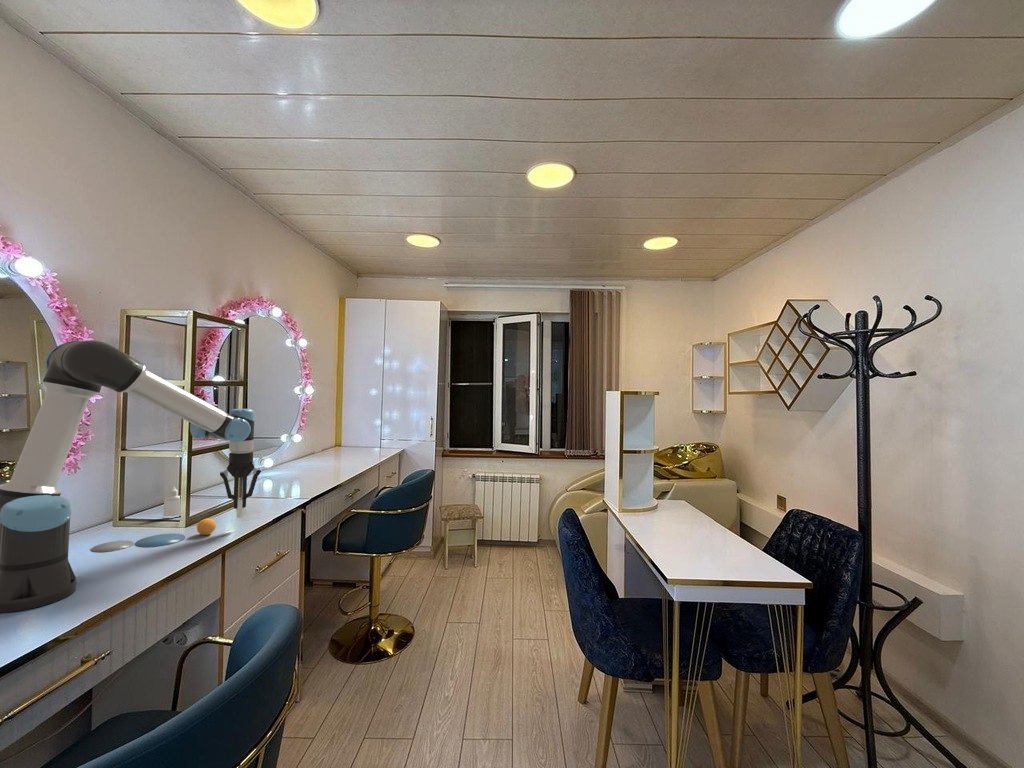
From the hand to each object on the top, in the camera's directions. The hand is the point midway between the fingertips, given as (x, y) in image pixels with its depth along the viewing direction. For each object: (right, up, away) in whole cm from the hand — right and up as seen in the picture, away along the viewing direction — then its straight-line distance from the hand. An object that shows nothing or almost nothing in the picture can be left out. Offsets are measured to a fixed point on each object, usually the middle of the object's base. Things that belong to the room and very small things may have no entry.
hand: (239, 516), depth 162 cm
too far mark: (-28, -4, -20) cm, 35 cm away
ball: (-8, -2, -6) cm, 10 cm away
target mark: (-18, -4, -13) cm, 23 cm away
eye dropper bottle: (-33, -4, +12) cm, 36 cm away
